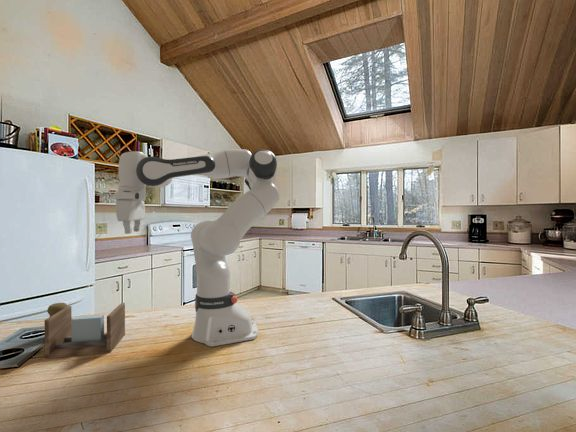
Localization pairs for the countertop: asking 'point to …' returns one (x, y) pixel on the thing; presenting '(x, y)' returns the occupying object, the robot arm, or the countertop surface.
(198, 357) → the countertop surface
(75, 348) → the cabinet
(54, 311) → the cork
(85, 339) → the door panel
